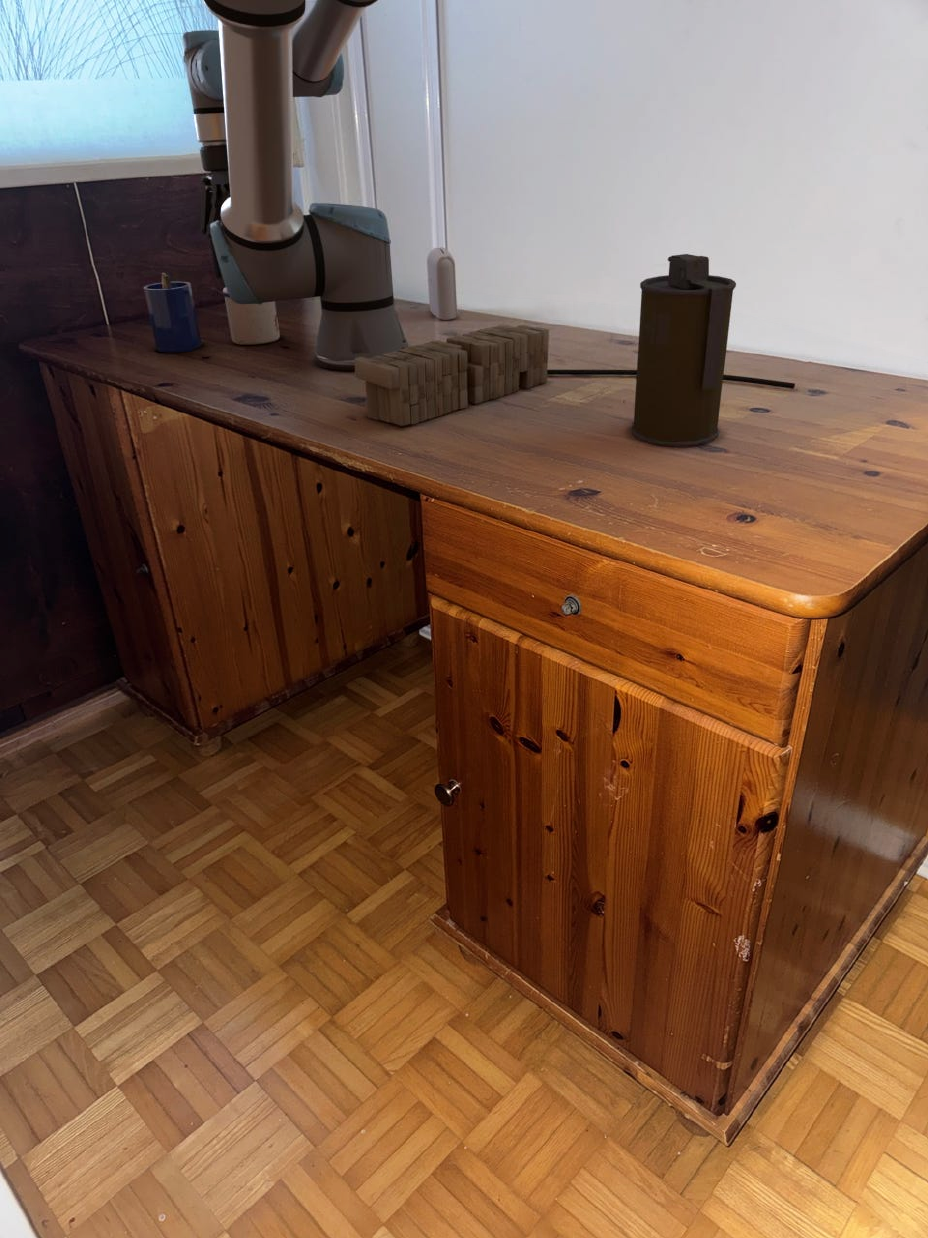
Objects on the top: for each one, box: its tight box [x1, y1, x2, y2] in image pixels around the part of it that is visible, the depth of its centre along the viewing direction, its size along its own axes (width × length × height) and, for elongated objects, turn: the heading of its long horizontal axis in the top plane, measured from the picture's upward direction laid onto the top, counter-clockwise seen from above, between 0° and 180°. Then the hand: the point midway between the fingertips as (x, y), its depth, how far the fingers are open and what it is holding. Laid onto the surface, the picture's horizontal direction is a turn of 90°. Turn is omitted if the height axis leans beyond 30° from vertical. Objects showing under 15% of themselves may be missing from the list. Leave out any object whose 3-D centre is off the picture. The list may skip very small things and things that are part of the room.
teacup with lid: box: [222, 286, 281, 346], centre depth 157 cm, size 12×9×12 cm
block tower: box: [354, 323, 550, 427], centre depth 119 cm, size 8×8×29 cm
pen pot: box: [143, 281, 202, 354], centre depth 153 cm, size 8×8×10 cm
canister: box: [630, 253, 737, 448], centre depth 101 cm, size 11×10×20 cm
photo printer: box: [426, 246, 458, 321], centre depth 168 cm, size 10×4×12 cm, turn 13°
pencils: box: [161, 272, 172, 289], centre depth 153 cm, size 2×3×12 cm
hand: (243, 280), depth 154 cm, fingers open, 13 cm apart
